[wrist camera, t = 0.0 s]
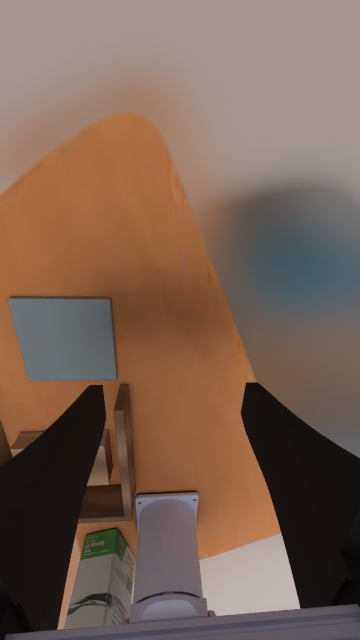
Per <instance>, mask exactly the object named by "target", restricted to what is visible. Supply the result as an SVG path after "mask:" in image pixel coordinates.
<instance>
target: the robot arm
mask: <svg viewBox="0 0 360 640" xmlns="http://www.w3.org/2000/svg"><path fill="white" fill-rule="evenodd" d="M241 416H242V420H243V424H244V427H245V431H246V434H247V436H248V439H249V441H250V444H251V446H252V449H253V451H254V454H255V456H256V459H257V461H258V463H259V466H260V468H261V471H262V473H263V476H264V478H265V481H266V484H267V486H268V489H269V493H270V496H271V499H272V502H273V506H274V509H275V512H276V516H277V519H278V523H279V526H280V530H281V533H282V536H283V540H284V544H285V547H286V551H287V555H288V559H289V563H290V566H291V570H292V575H293V579H294V583H295V587H296V591H297V595H298V599H299V603H300V608H301V609H295V610H282V611H271V612H260V613H248V614H236V615H225V616H216V615H215V613H214V611H212V610H210V611H208V610H207V601H206V598H203V594H202V584H201V574H200V565H199V555H198V545H197V536H196V519H197V509H198V499H199V496H198V493H196V492H189V493H168V494H148V495H137V496H136V515H137V530H138V545H137V558H136V571H135V585H134V597H133V604H131V605H130V616H129V617H128V618H123V619H122V621H121V623H120V625H109V626H97V627H86V628H74V629H62V630H57V627H58V622H59V616H60V611H61V605H62V600H63V594H64V589H65V583H66V578H67V573H68V568H69V563H70V558H71V553H72V548H73V543H74V539H75V534H76V529H77V525H78V520H79V516H80V511H81V507H82V502H83V498H84V494H85V491H86V487H87V484H88V481H89V477H90V474H91V471H92V468H93V465H94V462H95V459H96V456H97V453H98V449H99V446H100V443H101V440H102V436H103V431H104V426H105V421H106V410H105V402H104V393H103V385H90V386H88V387H87V389H86V390H85V391H84V392H83V393H82V394H81V395H80V396H79V397H78V398H77V399H76V401H75V402H74V403H73V404H72V405H71V406H70V407H69V408H68V409H67V410H66V411H65V412H64V413H63V414H62V415H61V416H60V417H59V418H58V419H57V420H56V421H55V422H54V423H53V424H52V425H51V426H50V427H49V428H48V429H47V430H45V431H44V432H43V433H42V434H41V435H40V436H39V437H38V438H37V439H35V440H34V441H33V442H32V443H31V444H29V445H28V446H27V447H26V448H24V449H23V450H22V451H21V452H19V453H18V454H17V455H15V456H14V457H13V458H11V459H10V460H8V461H7V462H6V463H4V464H3V465H2V466H0V640H360V458H358V457H357V456H355V455H353V454H352V453H350V452H348V451H346V450H345V449H343V448H341V447H340V446H338V445H337V444H335V443H333V442H332V441H330V440H329V439H327V438H326V437H324V436H323V435H322V434H320V433H318V432H317V431H316V430H314V429H313V428H312V427H310V426H309V425H307V424H306V423H305V422H304V421H302V420H301V419H300V418H298V417H297V416H296V415H295V414H293V413H292V412H291V411H290V410H289V409H287V408H286V407H285V406H284V405H283V404H282V403H280V402H279V401H278V400H277V399H276V398H275V397H274V396H273V395H271V394H270V393H269V392H268V391H267V390H266V389H265V388H264V387H262V386H261V385H260V384H259V383H258V382H255V383H246V386H245V392H244V398H243V403H242V409H241Z"/></svg>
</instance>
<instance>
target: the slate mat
mask: <svg viewBox="0 0 360 640" xmlns="http://www.w3.org/2000/svg"><path fill="white" fill-rule="evenodd" d="M7 300H8V304H9V308H10V311H11V315H12V319H13V323H14V326H15V330H16V334H17V338H18V341H19V345H20V349H21V353H22V356H23V360H24V364H25V368H26V371H27V375H28V379H29V381H50V380H117V377H118V375H117V364H116V352H115V341H114V329H113V318H112V306H111V298H102V297H9V298H7Z"/></svg>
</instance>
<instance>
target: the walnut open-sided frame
mask: <svg viewBox="0 0 360 640" xmlns="http://www.w3.org/2000/svg"><path fill="white" fill-rule="evenodd" d="M114 418H115V428H116V437H117V447H118V457H119V467H120V477H121V485H109V483H110V478H111V473H112V468H113V467H112V458H111V450H110V441H109V433H108V430H104V431H103V436H102V440H101V443H100V446H99V449H98V453H97V456H96V459H95V462H94V465H93V468H92V471H91V474H90V477H89V481H88V484H87V487H86V491H85V494H84V498H83V502H82V507H81V511H80V516H79V520H78V523H96V522H113V521H131V520H132V518H133V508H134V498H135V474H134V459H133V443H132V428H131V413H130V398H129V384H127V385H120V388H119V392H118V396H117V400H116V404H115V408H114ZM42 433H43V432H21V433H20V435H19V436H18V438H17V440H16V441H15V443H14V444H13V446H12V447H11V449H10V448H9V445H8V442H7V440H6V437H5V434H4V431H3V428H2V425H1V423H0V466H2V465H3V464H4V463H6V462H7V461H8V460H10V459H11V458H13V457H14V456H15V455H17V454H18V453H19V452H21V451H22V450H23V449H24V448H26V447H27V446H28V445H29V444H31V443H32V442H33V441H34V440H35V439H37V438H38V437H39V436H40V435H41V434H42ZM10 450H11V451H10ZM11 453H12V454H11ZM12 456H13V457H12ZM92 485H102V486H92Z"/></svg>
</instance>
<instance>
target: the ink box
mask: <svg viewBox="0 0 360 640" xmlns="http://www.w3.org/2000/svg"><path fill="white" fill-rule="evenodd" d="M134 565H135V556H134V555H133V553H132V552H131V550H130V548H129V547H128V545H127V544H126V542H125V540H124V539H123V537H122V535H121V534H120V532H119V531H118V529H111V530H107V531H102V532H98V533H93V534H89V535H86V536H85V540H84V545H83V549H82V553H81V558H80V562H79V566H78V571H77V575H76V579H75V583H74V588H73V592H72V596H71V601H70V604H69V608H68V613H67V617H66V622H65V626H64V629H74V628H86V627H97V626H109V625H120V623H121V621H122V619H123V618H128V617H129V616H130V605H131V599H132V587H133V576H134Z"/></svg>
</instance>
